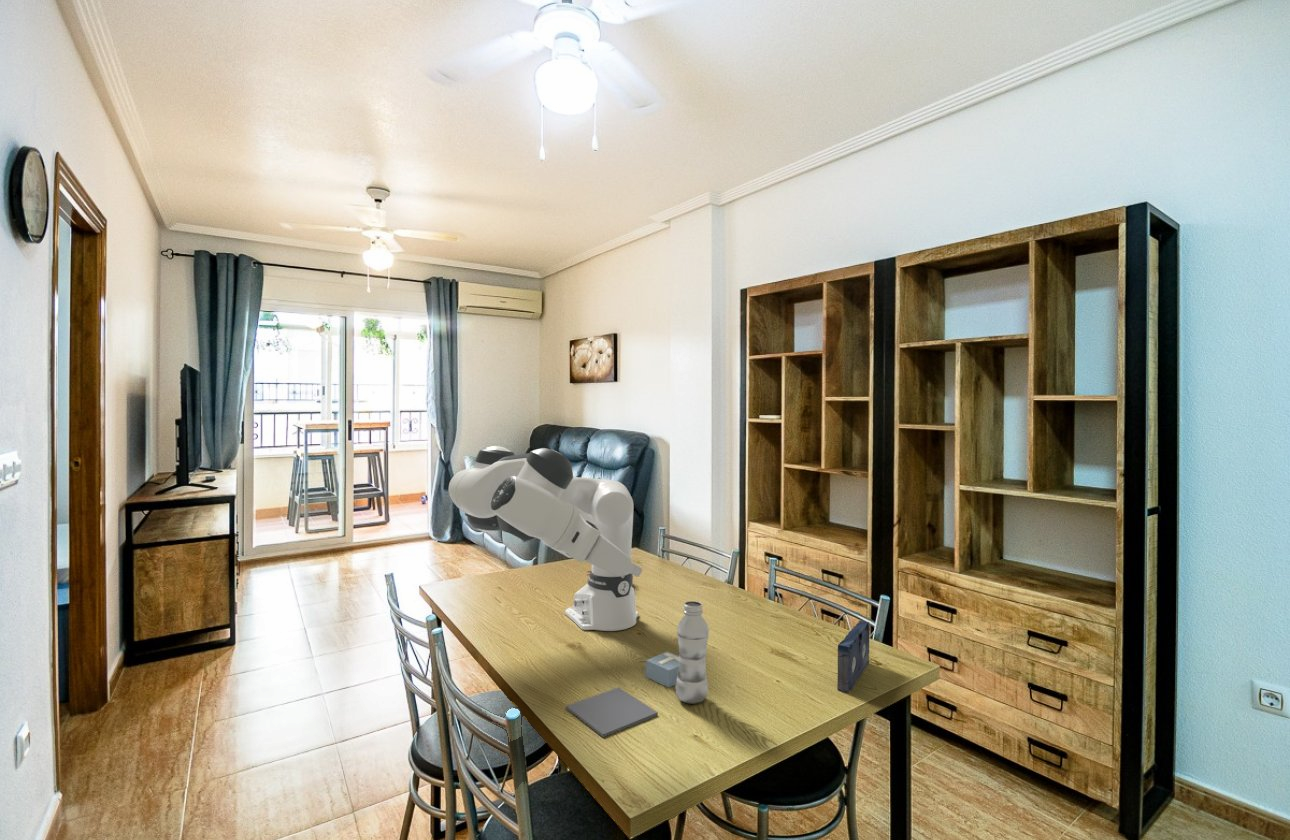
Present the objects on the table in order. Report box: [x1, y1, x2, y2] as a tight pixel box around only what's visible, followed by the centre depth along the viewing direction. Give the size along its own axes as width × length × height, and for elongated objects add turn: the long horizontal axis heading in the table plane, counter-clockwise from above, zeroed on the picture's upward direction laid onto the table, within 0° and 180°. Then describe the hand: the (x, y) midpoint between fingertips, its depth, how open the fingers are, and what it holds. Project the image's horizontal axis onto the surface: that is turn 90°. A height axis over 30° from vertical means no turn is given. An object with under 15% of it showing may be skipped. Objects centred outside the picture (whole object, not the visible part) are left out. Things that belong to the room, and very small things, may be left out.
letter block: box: [645, 651, 679, 688], centre depth 134 cm, size 7×7×4 cm
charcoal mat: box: [565, 687, 659, 738], centre depth 118 cm, size 13×13×1 cm
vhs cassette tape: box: [836, 620, 871, 694], centre depth 136 cm, size 18×3×10 cm, turn 145°
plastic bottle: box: [674, 600, 710, 704], centre depth 123 cm, size 6×7×20 cm
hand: (631, 565), depth 118 cm, fingers open, 8 cm apart
